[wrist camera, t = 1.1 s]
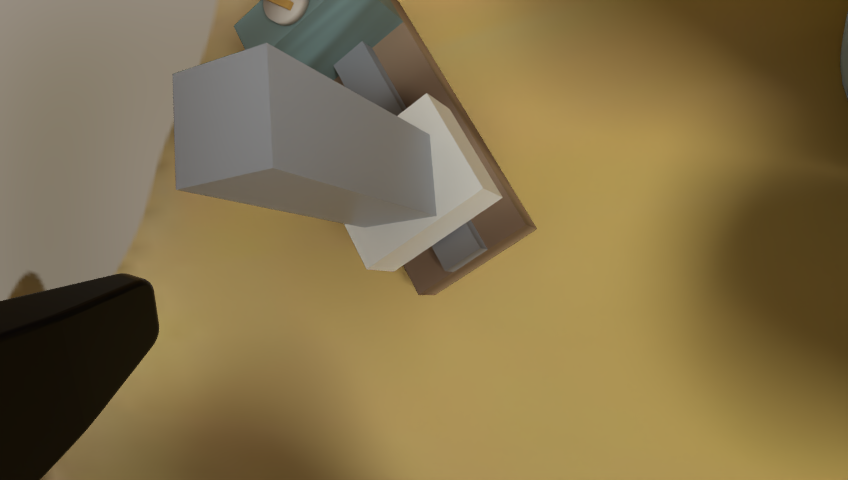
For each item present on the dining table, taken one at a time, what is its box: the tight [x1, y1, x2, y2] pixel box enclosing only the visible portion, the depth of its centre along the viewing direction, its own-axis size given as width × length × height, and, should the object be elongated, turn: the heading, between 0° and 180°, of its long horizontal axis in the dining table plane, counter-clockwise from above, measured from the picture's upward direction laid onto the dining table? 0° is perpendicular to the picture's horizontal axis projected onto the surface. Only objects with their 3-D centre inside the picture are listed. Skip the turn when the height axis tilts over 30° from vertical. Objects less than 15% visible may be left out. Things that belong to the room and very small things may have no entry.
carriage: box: [173, 43, 503, 272], centre depth 19 cm, size 4×5×10 cm
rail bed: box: [234, 0, 537, 295], centre depth 24 cm, size 12×5×6 cm, turn 29°
